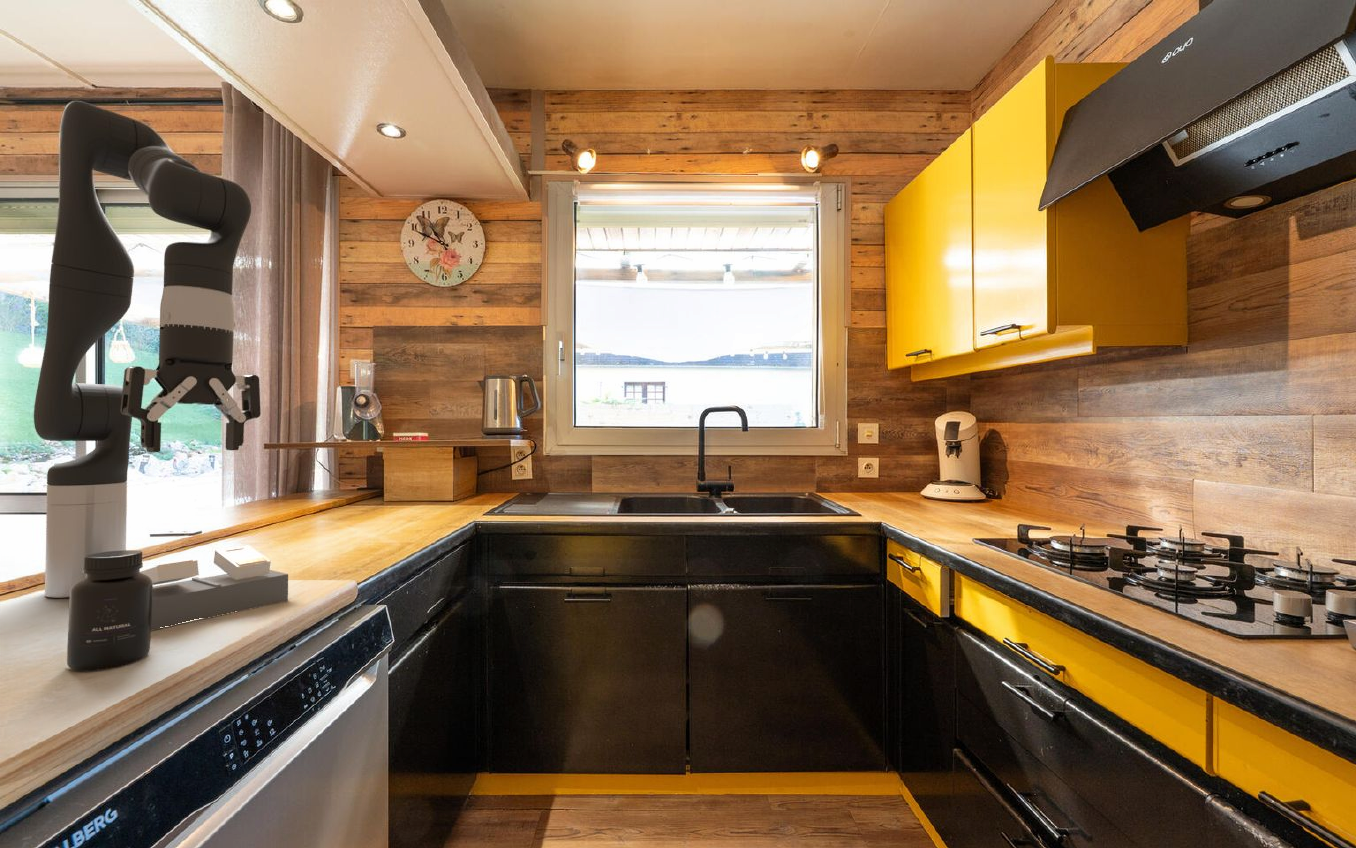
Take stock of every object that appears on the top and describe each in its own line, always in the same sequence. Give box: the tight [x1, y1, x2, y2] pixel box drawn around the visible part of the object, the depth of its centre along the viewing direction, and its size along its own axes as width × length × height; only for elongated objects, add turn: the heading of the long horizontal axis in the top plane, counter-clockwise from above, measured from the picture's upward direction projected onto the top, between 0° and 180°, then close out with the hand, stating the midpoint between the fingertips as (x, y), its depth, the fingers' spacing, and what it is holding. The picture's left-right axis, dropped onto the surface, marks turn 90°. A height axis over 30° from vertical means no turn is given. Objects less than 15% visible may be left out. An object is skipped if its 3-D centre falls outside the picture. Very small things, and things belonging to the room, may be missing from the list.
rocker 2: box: [213, 544, 271, 580], centre depth 90 cm, size 7×4×2 cm, turn 59°
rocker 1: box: [140, 559, 200, 586], centre depth 82 cm, size 7×4×2 cm, turn 59°
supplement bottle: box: [66, 549, 154, 672], centre depth 68 cm, size 7×7×12 cm
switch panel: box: [151, 569, 289, 631], centre depth 86 cm, size 8×18×4 cm, turn 149°
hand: (194, 451), depth 78 cm, fingers open, 8 cm apart
